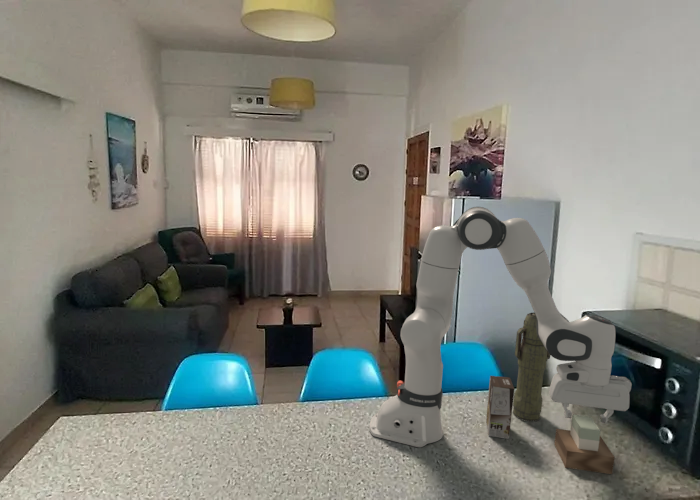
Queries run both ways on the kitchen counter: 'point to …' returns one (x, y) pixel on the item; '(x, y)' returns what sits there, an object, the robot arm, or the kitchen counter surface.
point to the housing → (585, 432)
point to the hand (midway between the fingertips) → (585, 419)
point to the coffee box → (499, 406)
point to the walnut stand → (583, 454)
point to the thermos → (529, 371)
